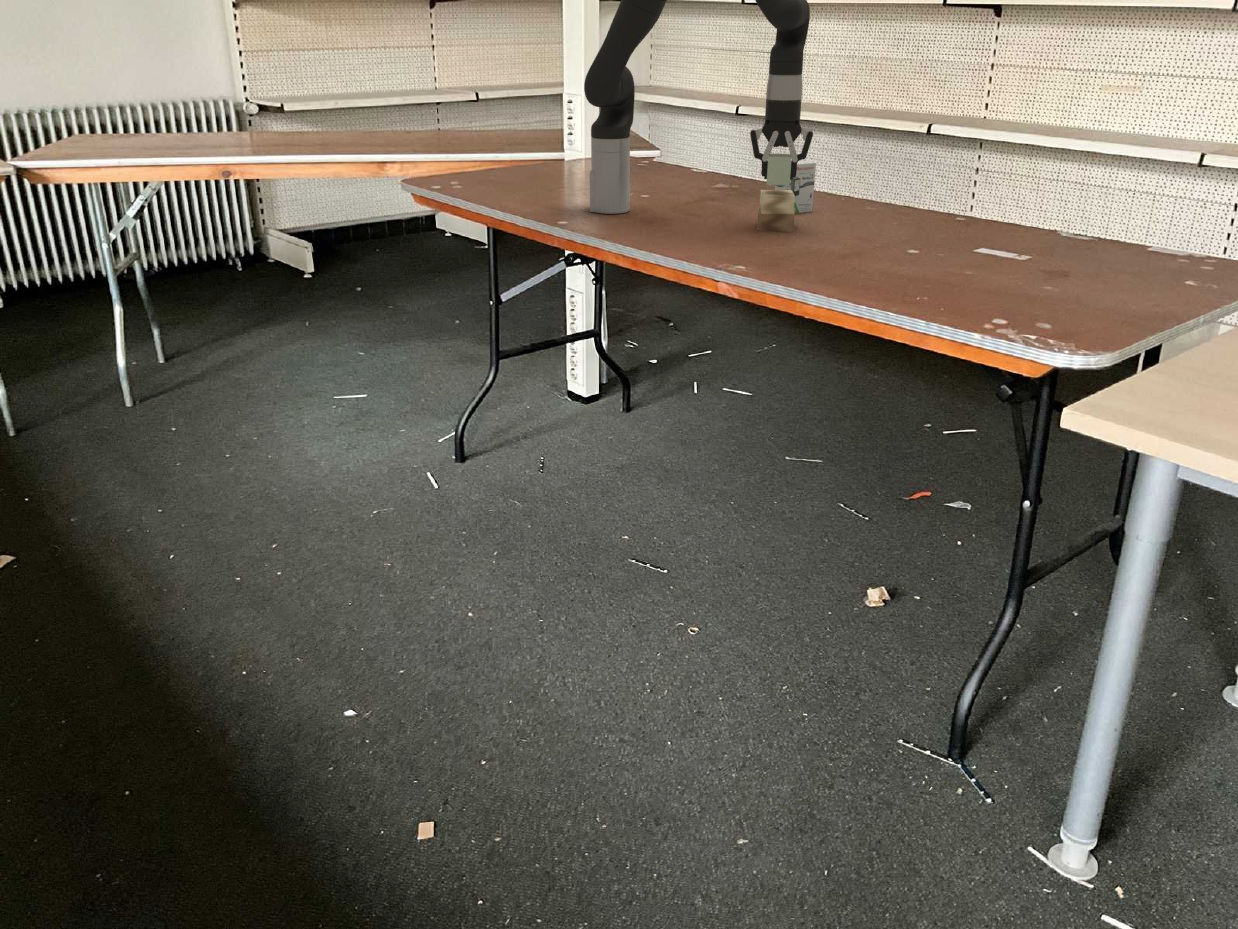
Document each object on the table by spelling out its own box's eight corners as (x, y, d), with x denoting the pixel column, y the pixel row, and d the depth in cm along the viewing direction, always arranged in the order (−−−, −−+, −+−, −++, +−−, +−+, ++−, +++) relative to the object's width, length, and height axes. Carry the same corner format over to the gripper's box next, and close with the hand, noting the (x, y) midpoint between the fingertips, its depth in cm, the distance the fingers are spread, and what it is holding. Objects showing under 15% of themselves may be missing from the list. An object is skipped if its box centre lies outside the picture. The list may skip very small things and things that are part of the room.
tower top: (761, 213, 215) (762, 195, 214) (759, 207, 222) (760, 189, 220) (793, 214, 215) (794, 195, 213) (790, 208, 221) (791, 190, 219)
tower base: (756, 231, 217) (757, 213, 215) (758, 224, 224) (759, 207, 222) (793, 233, 216) (794, 214, 214) (793, 225, 223) (795, 208, 221)
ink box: (784, 215, 233) (788, 163, 228) (772, 211, 237) (775, 161, 232) (813, 211, 237) (817, 161, 232) (800, 208, 241) (803, 158, 236)
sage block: (766, 184, 214) (768, 156, 211) (766, 181, 218) (768, 153, 215) (789, 185, 213) (791, 156, 210) (789, 181, 217) (791, 153, 215)
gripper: (749, 98, 206) (745, 180, 213) (818, 98, 204) (811, 182, 211) (750, 95, 212) (746, 175, 219) (817, 96, 210) (811, 177, 217)
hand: (778, 178), depth 215 cm, fingers closed on sage block, 5 cm apart
